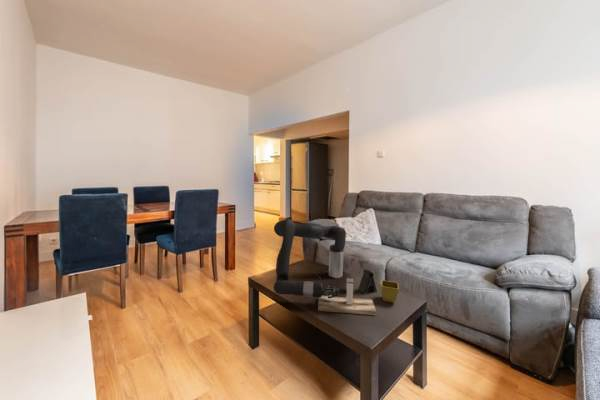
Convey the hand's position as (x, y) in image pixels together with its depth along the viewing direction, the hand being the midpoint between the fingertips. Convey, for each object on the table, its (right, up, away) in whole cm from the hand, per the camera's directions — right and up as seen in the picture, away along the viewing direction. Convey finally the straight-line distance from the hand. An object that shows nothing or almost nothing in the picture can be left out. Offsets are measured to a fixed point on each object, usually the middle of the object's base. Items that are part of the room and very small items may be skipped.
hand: (346, 291), depth 130 cm
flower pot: (+25, -8, +9) cm, 28 cm away
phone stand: (+16, -7, +20) cm, 26 cm away
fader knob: (+1, -6, 0) cm, 6 cm away
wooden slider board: (0, -8, +1) cm, 8 cm away
